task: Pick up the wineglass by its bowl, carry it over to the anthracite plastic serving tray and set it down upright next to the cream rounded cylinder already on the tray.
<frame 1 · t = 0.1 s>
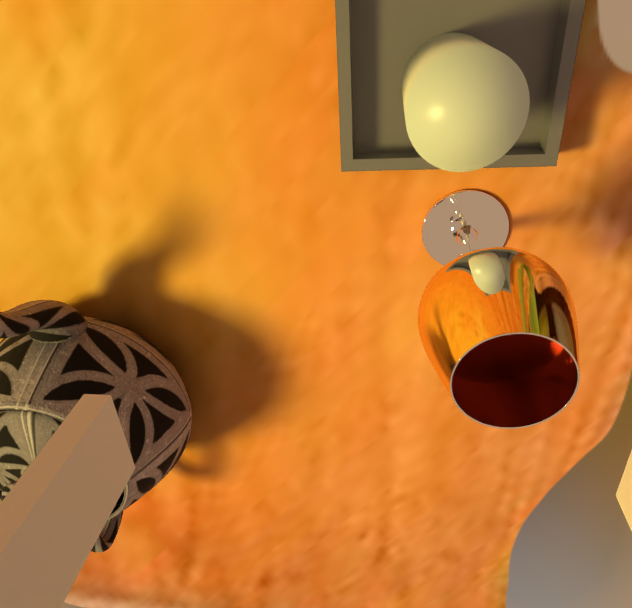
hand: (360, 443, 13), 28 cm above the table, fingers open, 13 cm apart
wineglass: (464, 229, 39), on the table
teapot: (110, 368, 51), on the table
cream rounded cylinder: (448, 84, 33), point 1 cm above the table, touching tray
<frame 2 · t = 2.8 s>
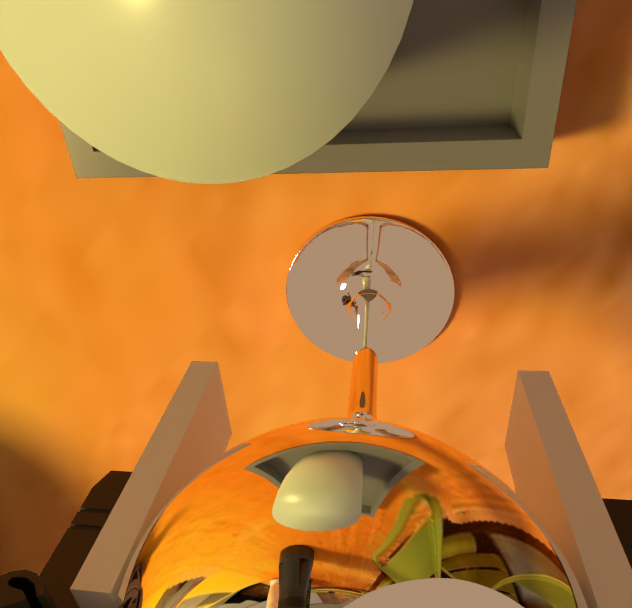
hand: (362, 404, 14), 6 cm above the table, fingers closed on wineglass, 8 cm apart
wineglass: (370, 291, 20), on the table, touching gripper
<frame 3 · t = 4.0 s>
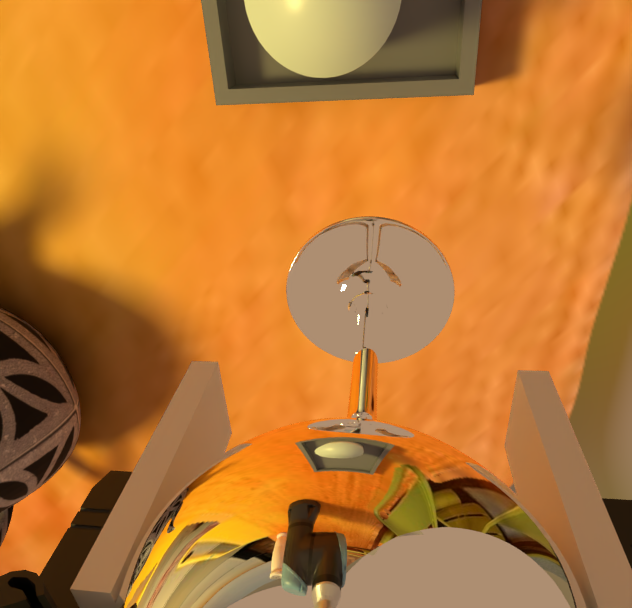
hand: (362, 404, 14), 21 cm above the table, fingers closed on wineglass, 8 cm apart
wineglass: (370, 291, 20), point 15 cm above the table, touching gripper
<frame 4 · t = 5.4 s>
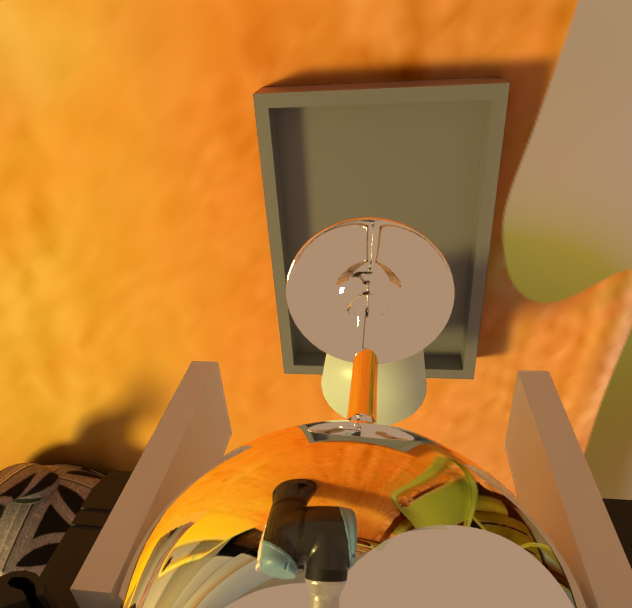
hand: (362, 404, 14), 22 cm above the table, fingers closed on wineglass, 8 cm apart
tray: (377, 238, 36), on the table
wineglass: (370, 292, 20), point 16 cm above the table, touching gripper
teapot: (84, 498, 55), on the table
cream rounded cylinder: (377, 307, 37), point 1 cm above the table, touching tray
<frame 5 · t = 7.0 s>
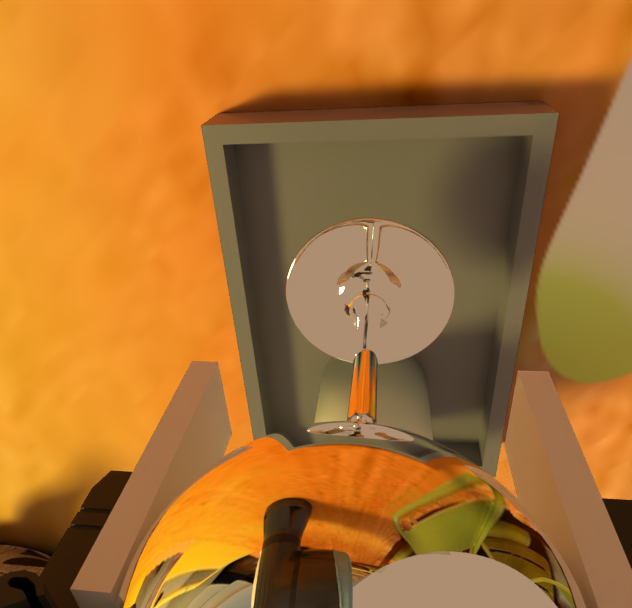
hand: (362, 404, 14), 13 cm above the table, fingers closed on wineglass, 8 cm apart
tray: (373, 304, 28), on the table
wineglass: (370, 293, 20), point 6 cm above the table, touching gripper
teapot: (34, 578, 47), on the table
cream rounded cylinder: (373, 386, 29), point 1 cm above the table, touching tray
when the fingers open (9 cm above the table, at t = 8.3 s): wineglass drops 2 cm, resting on tray.
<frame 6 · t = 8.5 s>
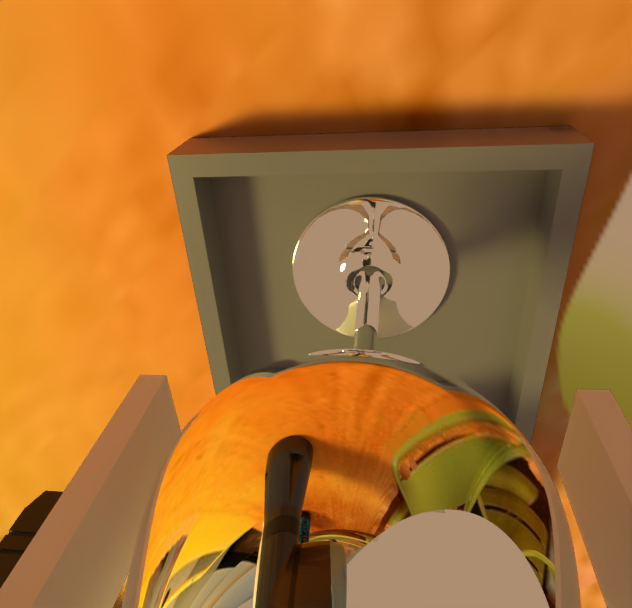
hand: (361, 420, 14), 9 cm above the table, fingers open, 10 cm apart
tray: (372, 351, 24), on the table
wineglass: (370, 269, 21), point 1 cm above the table, touching tray
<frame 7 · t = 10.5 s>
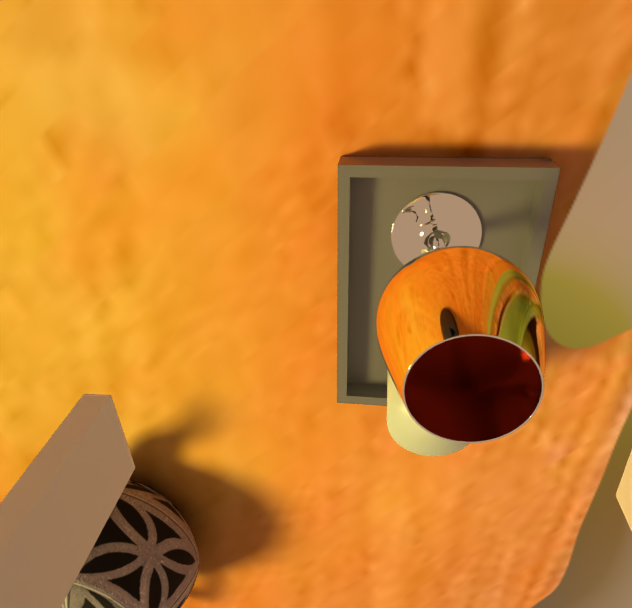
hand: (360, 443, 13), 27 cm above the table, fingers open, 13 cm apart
tray: (429, 287, 40), on the table
wineglass: (436, 234, 37), point 1 cm above the table, touching tray
teapot: (127, 510, 59), on the table
cream rounded cylinder: (425, 346, 42), point 1 cm above the table, touching tray
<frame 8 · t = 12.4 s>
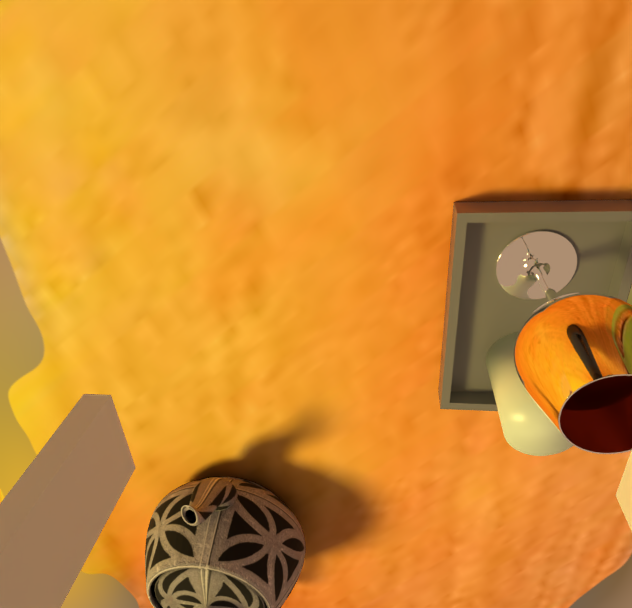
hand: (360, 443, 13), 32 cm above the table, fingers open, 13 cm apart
tray: (525, 308, 46), on the table
wineglass: (535, 264, 43), point 1 cm above the table, touching tray
teapot: (235, 504, 66), on the table
cream rounded cylinder: (519, 358, 48), point 1 cm above the table, touching tray
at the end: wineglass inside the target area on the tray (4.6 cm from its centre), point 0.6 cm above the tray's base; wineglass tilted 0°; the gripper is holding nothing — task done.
